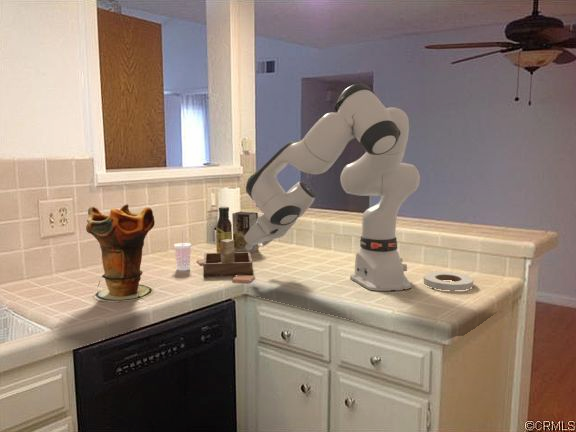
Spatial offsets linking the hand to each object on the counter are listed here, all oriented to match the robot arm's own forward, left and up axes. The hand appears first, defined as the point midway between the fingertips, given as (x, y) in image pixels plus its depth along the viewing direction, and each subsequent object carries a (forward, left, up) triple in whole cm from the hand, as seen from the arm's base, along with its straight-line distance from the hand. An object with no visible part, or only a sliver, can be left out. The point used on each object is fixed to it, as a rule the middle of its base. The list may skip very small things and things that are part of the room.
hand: (255, 246), depth 179 cm
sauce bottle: (+31, +11, -10) cm, 34 cm away
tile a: (+20, +18, -11) cm, 28 cm away
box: (+8, +10, -10) cm, 16 cm away
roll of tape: (-21, -60, -11) cm, 65 cm away
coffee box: (+40, +2, -10) cm, 41 cm away
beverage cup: (+12, +26, -10) cm, 30 cm away
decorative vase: (-16, +42, -10) cm, 46 cm away
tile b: (-6, +5, -11) cm, 13 cm away
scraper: (+8, +10, -9) cm, 15 cm away
